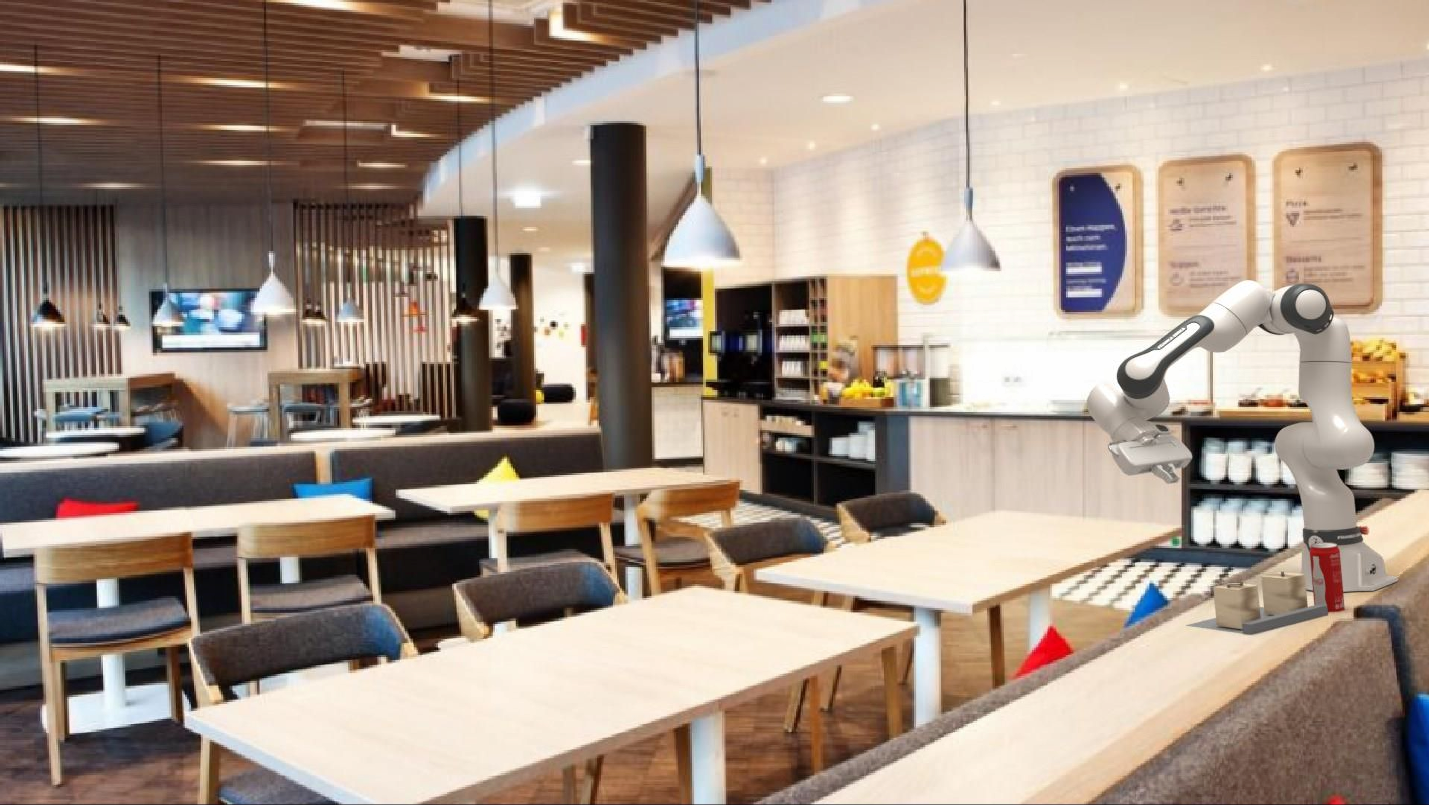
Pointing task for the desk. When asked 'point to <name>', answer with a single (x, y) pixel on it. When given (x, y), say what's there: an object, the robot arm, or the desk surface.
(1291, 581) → the wooden number block 1
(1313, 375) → the robot arm
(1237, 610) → the wooden digit block 2
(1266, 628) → the grey ledged board
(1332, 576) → the beverage can
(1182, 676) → the desk surface
